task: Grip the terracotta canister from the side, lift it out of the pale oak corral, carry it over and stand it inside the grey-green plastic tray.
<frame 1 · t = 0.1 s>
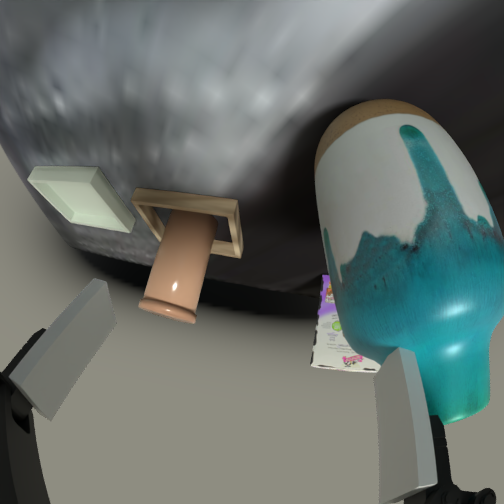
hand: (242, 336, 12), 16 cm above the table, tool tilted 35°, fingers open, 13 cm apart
candy box: (358, 280, 50), on the table
canister: (180, 265, 38), in the oak corral
green tray: (84, 192, 38), on the table
oak corral: (194, 219, 40), on the table
vase: (369, 131, 19), point 1 cm above the table, touching gripper
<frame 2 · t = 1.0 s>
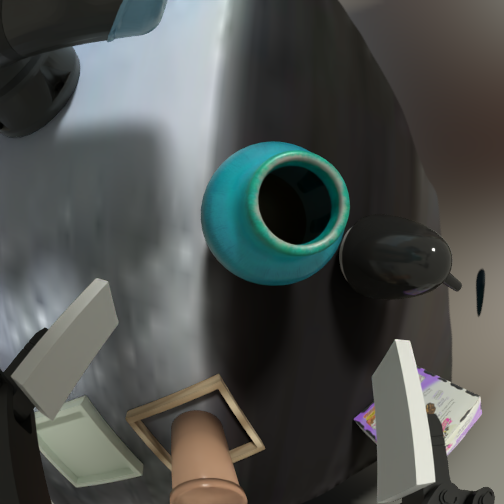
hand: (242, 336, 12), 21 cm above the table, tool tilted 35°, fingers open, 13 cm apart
candy box: (387, 398, 40), on the table
canister: (201, 463, 26), in the oak corral
pump dispenser: (359, 255, 37), on the table
green tray: (80, 443, 28), on the table
oak corral: (197, 430, 32), on the table
vase: (252, 223, 33), on the table
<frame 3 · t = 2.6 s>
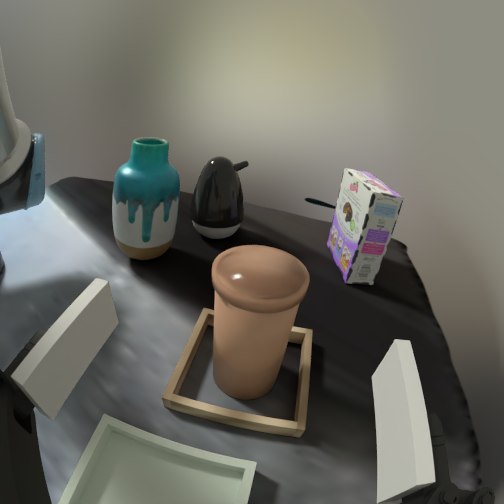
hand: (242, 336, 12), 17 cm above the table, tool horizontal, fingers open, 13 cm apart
candy box: (347, 263, 52), on the table
canister: (251, 331, 26), in the oak corral
pump dispenser: (216, 233, 56), on the table
oak corral: (244, 373, 30), on the table
vase: (143, 252, 47), on the table
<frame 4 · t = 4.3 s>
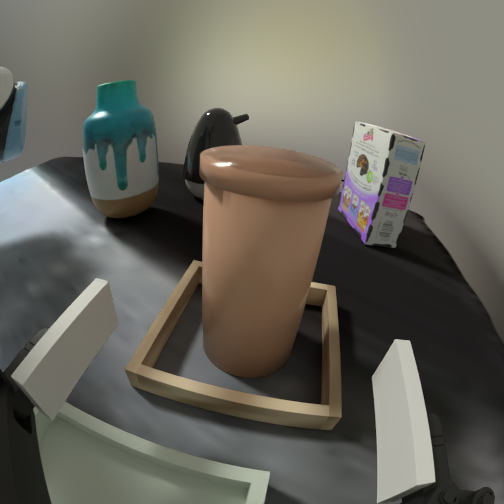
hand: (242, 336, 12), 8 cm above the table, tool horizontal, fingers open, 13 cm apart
candy box: (364, 227, 44), on the table
canister: (257, 268, 18), in the oak corral
pump dispenser: (212, 196, 49), on the table
oak corral: (247, 341, 22), on the table
vase: (128, 213, 39), on the table
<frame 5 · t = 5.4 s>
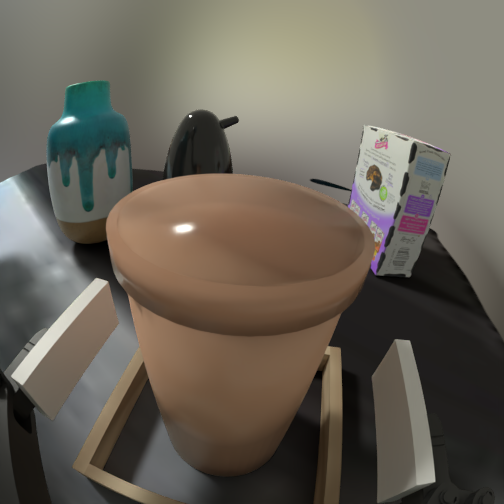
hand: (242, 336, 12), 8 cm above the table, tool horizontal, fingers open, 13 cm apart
candy box: (373, 250, 38), on the table
canister: (229, 364, 12), in the oak corral
pump dispenser: (197, 213, 42), on the table
oak corral: (224, 426, 15), on the table
vase: (98, 238, 33), on the table
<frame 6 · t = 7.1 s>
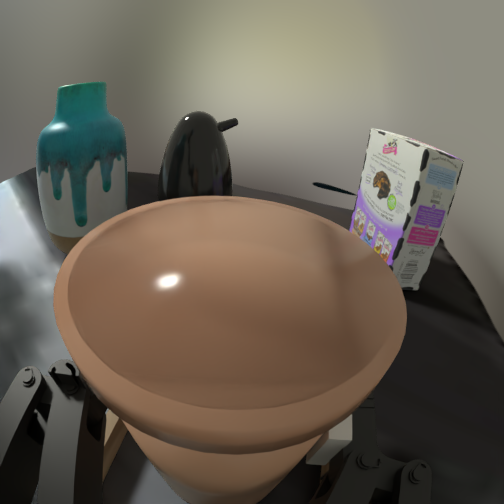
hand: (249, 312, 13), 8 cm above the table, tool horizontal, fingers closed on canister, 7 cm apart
candy box: (379, 261, 36), on the table
canister: (222, 412, 10), in the oak corral, touching gripper
pump dispenser: (195, 220, 40), on the table
oak corral: (220, 460, 13), on the table
vase: (90, 248, 31), on the table
when the fingers open (10 cm above the table, at t = 13.1 s): canister drops 1 cm, resting on green tray.
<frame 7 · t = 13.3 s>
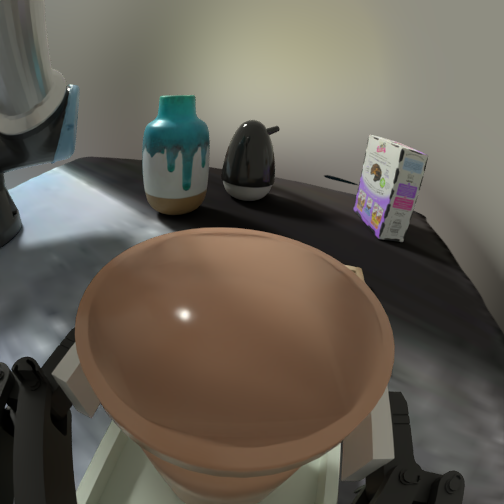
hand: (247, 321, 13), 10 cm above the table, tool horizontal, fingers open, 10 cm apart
candy box: (376, 225, 52), on the table
canister: (224, 425, 10), in the green tray, point 8 cm above the table
pump dispenser: (246, 197, 56), on the table
green tray: (220, 468, 14), on the table
vase: (176, 211, 47), on the table
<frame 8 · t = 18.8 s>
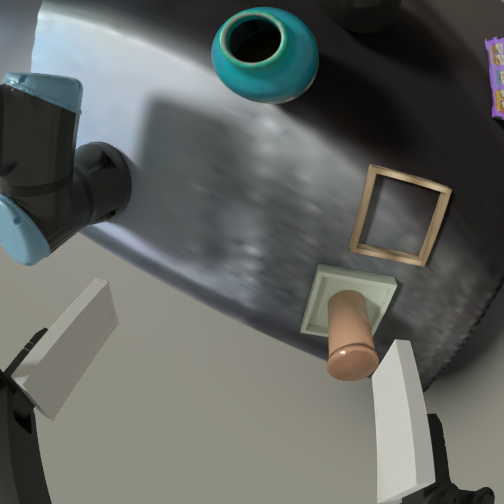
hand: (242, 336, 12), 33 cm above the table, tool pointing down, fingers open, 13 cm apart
candy box: (500, 80, 25), on the table
canister: (349, 332, 43), in the green tray, point 8 cm above the table
pump dispenser: (354, 9, 26), on the table
green tray: (346, 302, 50), on the table
oak corral: (399, 215, 40), on the table
vase: (277, 69, 33), on the table
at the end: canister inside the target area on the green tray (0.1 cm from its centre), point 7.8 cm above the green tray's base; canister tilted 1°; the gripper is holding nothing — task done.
